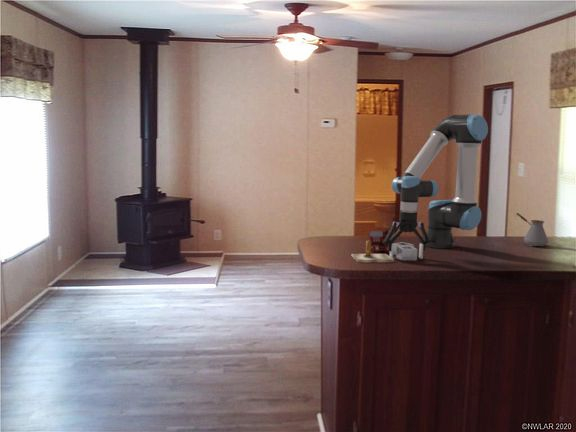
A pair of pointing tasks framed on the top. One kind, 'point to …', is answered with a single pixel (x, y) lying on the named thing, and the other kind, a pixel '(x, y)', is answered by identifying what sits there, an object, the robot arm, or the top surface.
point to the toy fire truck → (378, 240)
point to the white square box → (406, 253)
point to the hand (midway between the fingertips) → (405, 258)
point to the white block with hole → (400, 245)
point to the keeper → (371, 256)
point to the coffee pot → (535, 233)
